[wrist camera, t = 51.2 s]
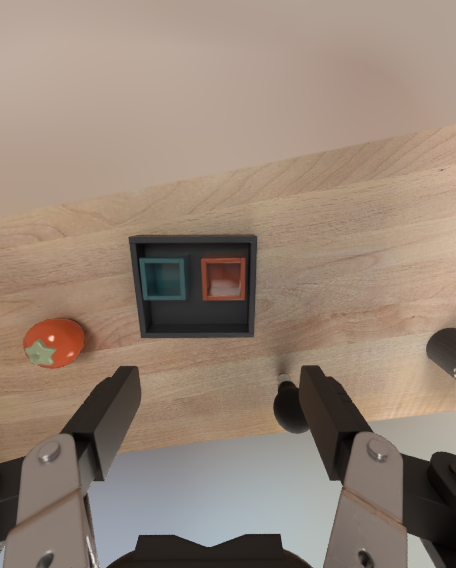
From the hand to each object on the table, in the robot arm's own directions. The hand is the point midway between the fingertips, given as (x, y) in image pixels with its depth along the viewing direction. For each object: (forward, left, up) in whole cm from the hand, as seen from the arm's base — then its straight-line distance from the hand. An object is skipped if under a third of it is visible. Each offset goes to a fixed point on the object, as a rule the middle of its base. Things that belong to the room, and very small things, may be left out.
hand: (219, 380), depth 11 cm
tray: (+2, -4, -24) cm, 25 cm away
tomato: (+10, -25, -24) cm, 36 cm away
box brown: (0, 0, -24) cm, 24 cm away
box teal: (0, -8, -24) cm, 25 cm away
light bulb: (+19, +10, -24) cm, 32 cm away
